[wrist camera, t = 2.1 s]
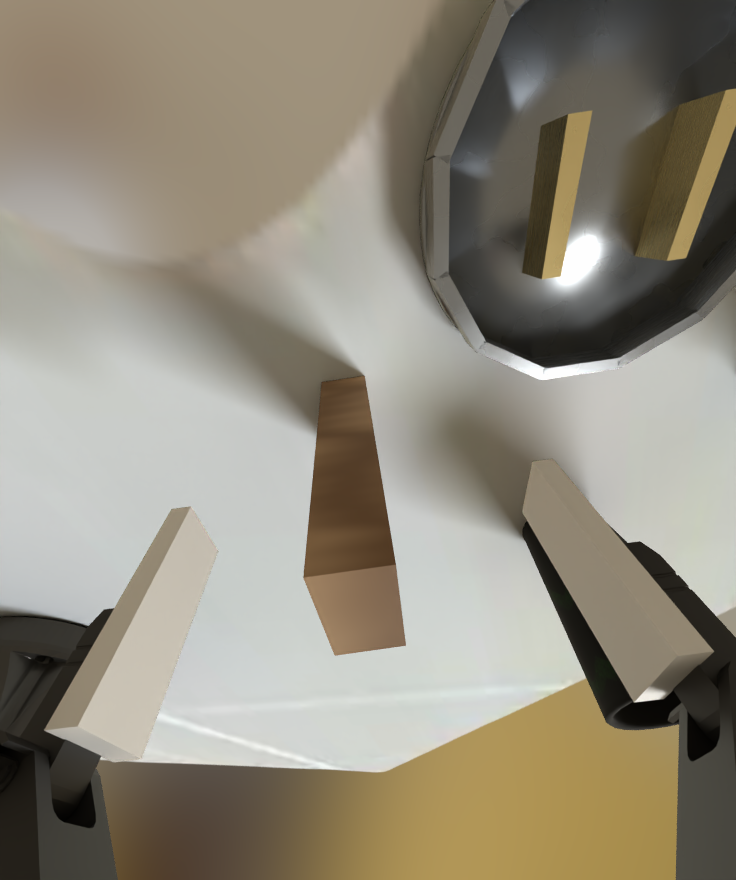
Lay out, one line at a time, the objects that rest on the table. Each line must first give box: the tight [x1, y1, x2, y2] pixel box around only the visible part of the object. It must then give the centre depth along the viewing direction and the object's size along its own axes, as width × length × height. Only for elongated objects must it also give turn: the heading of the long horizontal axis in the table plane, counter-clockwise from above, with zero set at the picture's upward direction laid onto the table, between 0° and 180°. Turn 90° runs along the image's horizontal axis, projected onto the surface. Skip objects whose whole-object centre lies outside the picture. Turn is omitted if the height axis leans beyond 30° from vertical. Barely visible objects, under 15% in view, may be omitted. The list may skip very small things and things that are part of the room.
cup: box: [523, 521, 682, 730], centre depth 22 cm, size 8×8×12 cm
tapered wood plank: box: [303, 376, 406, 655], centre depth 15 cm, size 2×4×12 cm, turn 7°
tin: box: [419, 0, 736, 380], centre depth 13 cm, size 15×15×3 cm
